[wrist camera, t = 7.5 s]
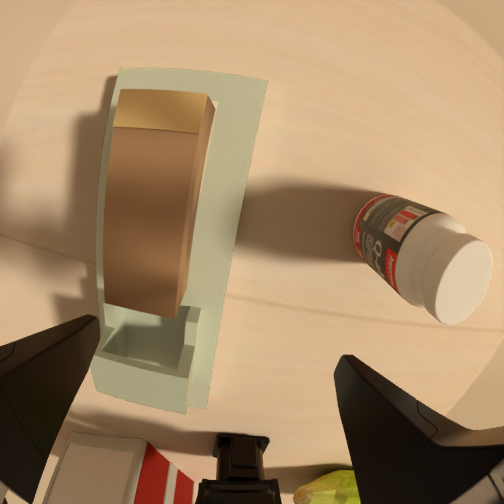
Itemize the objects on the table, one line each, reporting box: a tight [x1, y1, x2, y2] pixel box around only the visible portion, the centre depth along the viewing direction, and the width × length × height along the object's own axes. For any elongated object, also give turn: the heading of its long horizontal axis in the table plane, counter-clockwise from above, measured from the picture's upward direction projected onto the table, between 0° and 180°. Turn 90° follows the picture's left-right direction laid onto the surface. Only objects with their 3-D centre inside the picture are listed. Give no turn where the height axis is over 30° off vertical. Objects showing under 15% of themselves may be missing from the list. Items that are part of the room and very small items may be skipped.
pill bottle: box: [353, 195, 493, 325], centre depth 15 cm, size 6×6×10 cm
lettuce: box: [293, 470, 361, 504], centre depth 29 cm, size 13×23×12 cm, turn 48°
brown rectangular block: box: [103, 89, 216, 319], centre depth 14 cm, size 12×4×4 cm, turn 168°
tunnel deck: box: [90, 68, 268, 414], centre depth 16 cm, size 28×10×7 cm, turn 168°
